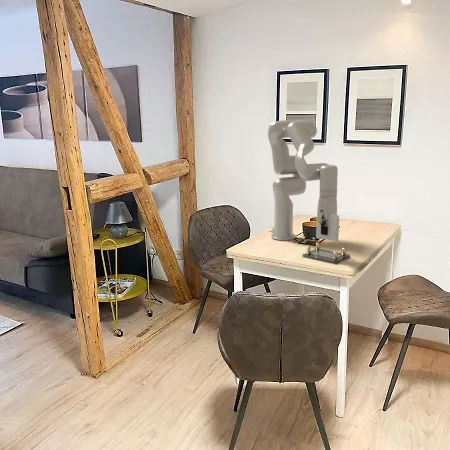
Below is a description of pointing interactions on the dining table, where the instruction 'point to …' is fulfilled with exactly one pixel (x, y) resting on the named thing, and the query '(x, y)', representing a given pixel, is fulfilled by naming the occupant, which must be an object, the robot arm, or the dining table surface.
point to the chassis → (326, 255)
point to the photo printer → (329, 228)
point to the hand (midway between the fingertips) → (327, 233)
